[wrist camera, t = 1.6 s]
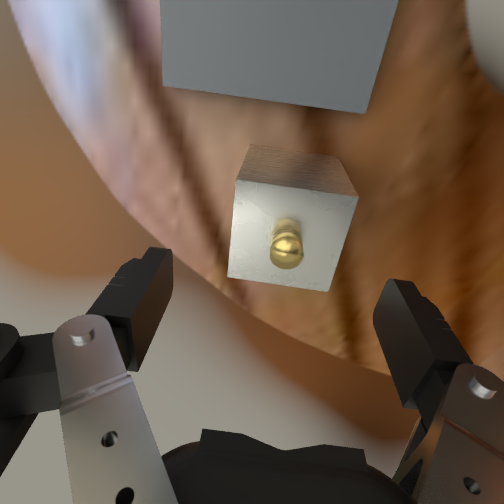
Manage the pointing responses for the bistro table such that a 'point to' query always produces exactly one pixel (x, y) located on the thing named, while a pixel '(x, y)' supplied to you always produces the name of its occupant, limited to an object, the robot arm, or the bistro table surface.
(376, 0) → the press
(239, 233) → the block
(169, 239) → the bistro table surface
